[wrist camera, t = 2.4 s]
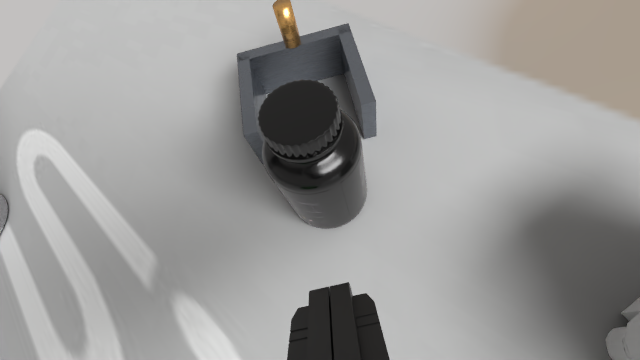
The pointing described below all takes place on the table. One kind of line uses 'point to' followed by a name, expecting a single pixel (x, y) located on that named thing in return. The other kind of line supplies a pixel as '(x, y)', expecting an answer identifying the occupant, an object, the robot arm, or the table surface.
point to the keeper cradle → (302, 71)
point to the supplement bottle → (313, 153)
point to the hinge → (626, 336)
